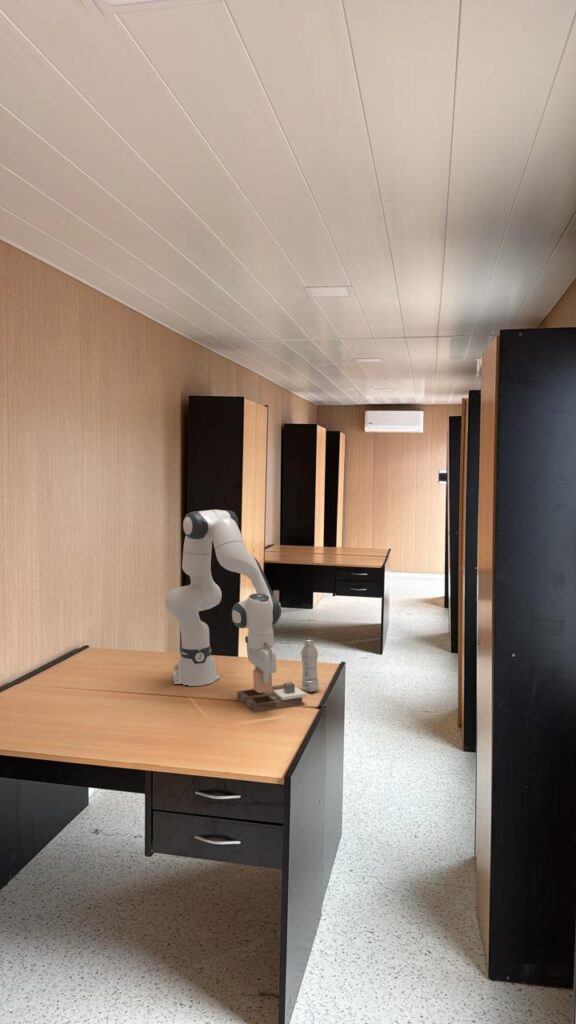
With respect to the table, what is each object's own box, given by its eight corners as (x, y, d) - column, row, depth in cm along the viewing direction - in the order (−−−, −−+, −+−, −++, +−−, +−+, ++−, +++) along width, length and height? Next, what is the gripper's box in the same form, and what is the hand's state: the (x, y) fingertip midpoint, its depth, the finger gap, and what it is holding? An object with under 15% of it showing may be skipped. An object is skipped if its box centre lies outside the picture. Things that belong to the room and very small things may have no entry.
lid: (273, 693, 268) (272, 682, 267) (296, 689, 271) (295, 678, 271) (282, 700, 259) (281, 688, 259) (306, 696, 262) (305, 685, 262)
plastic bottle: (298, 693, 279) (297, 640, 278) (306, 688, 285) (305, 636, 284) (314, 695, 276) (312, 641, 275) (321, 689, 282) (320, 637, 281)
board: (237, 700, 272) (237, 691, 272) (283, 693, 279) (283, 684, 279) (253, 715, 256) (253, 705, 255) (302, 707, 262) (302, 697, 262)
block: (253, 689, 262) (253, 669, 262) (267, 687, 264) (266, 667, 264) (258, 693, 258) (257, 673, 257) (272, 691, 260) (271, 671, 259)
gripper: (280, 645, 252) (281, 686, 252) (259, 634, 271) (261, 671, 271) (262, 648, 249) (264, 689, 250) (243, 636, 268) (244, 674, 269)
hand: (262, 680), depth 261 cm, fingers closed on block, 5 cm apart
